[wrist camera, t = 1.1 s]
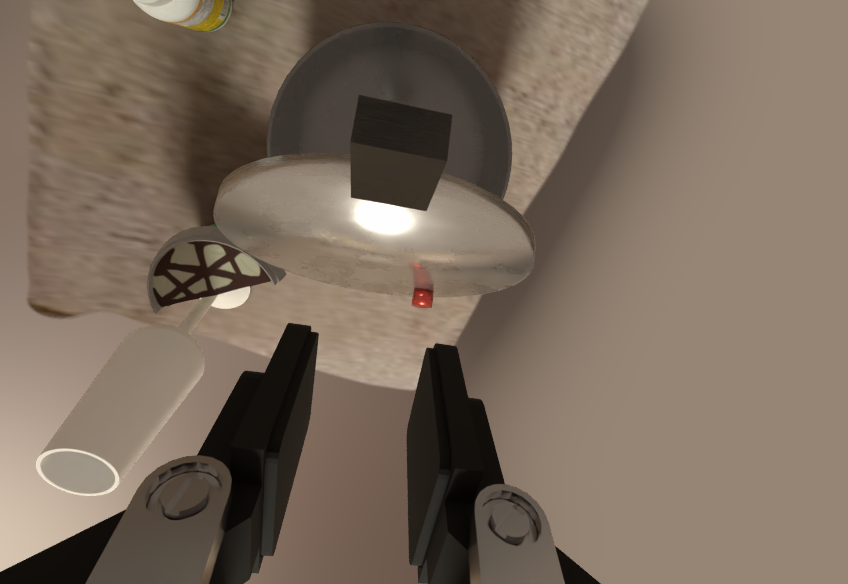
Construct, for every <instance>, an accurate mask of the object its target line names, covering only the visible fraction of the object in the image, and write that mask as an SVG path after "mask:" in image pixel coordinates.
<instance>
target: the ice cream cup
mask: <svg viewBox="0 0 848 584" xmlns="http://www.w3.org/2000/svg"><path fill="white" fill-rule="evenodd" d="M285 275H286V273H285V271H284V270H283V269H281V268H278V267H275V266H273V265H271V264H268V263H266V262H264V261H262V260H260V259H258V258H256V257H254V256H252V255H250V254H248V253H247V252H245V251H244V250H242V249H240V248H239V247H237V246H236V245H235V244H233V243H232V242H231V241H230V240H228V239H227V238H226V237H225V236H224V235H223V234H222V233H221V232H220V230H219V229H218V227H217V226H216V224H215V223H213V224H211V225H210V226H200V227H194V228H190V229H187V230H184V231H182V232H180V233H178V234H176V235H174V236H173V237H172V238H170V239H169V240H168V241H167V242H166V243H165V244H164V245H163V247H162V248H161V249H160V250H159V252H158V253H157V255H156V256H155V258H154V260H153V262H152V264H151V266H150V270H149V274H148V282H147V290H148V297H149V300H150V303H151V306H152V308H153V310H154V312H155V313H157V312H158V311H159V310H160V309H162V308H163V307H164V306H170V305H172V304H175V303H179V302H184V301H188V300H193V299H198V298H204V297H210V296H215V295H219V294H222V293H226V292H229V291H233V290H237V289H241V288H244V287H248V286H253V285H257V284H261V283H265V282H270V281H272V283H273V285H276V283H277V282H280V281H281V280H282V279H283V278H284V277H285Z"/></svg>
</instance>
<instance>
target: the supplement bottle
mask: <svg viewBox="0 0 848 584" xmlns="http://www.w3.org/2000/svg"><path fill="white" fill-rule="evenodd" d="M133 1H134V2H135V3H136V4H137V5H138V6H139V7H140V8H141V9H142V10H143V11H145V12H146V13H147V14H149V15H151V16H152V17H154V18H156V19H159V20H162V21H165V22H169V23H172V24H176V25H179V26H183V27H186V28H190V29H194V30H197V31H201V32H213V31H216V30H218V29H220V28H222V27H223V26H224V25H225V24H226V23H227V21H228V19H229V18H230V15H231V12H232V3H233V2H232V0H133Z"/></svg>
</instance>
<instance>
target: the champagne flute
mask: <svg viewBox="0 0 848 584" xmlns="http://www.w3.org/2000/svg"><path fill="white" fill-rule="evenodd" d="M249 294H250V286H248V287H244V288H241V289H237V290H233V291H229V292H226V293H222V294H219V295H215V296H210V297H204V298H199V299H200V301H199V302H198V303H197V305H196V306H195V307H194V308H193V310H192V311H191V312H190V314H189V315H188V316H187V318H186V319H185V320H184V321H183V323H182V324H181V325H180V327H176V326H172V325H152V326H147V327H143V328H139V329H137V330H135V331H133V332H132V333H130V334H129V335H128V336H126V337H125V338H124V340H123V341H122V343H121V344H120V345H119V347H118V348H117V349H116V351H115V352H114V354H113V355H112V356H111V358H110V359H109V360H108V362H107V363H106V365H105V366H104V367H103V369H102V370H101V371H100V373H99V374H98V376H97V377H96V378H95V380H94V381H93V383H92V384H91V385H90V387H89V388H88V390H87V391H86V392H85V394H84V395H83V396H82V398H81V399H80V401H79V402H78V403H77V405H76V406H75V408H74V409H73V410H72V412H71V413H70V414H69V416H68V417H67V419H66V420H65V421H64V423H63V424H62V425H61V427H60V428H59V430H58V431H57V432H56V434H55V435H54V437H53V438H52V439H51V441H50V442H49V443H48V445H47V446H46V448H45V449H44V451H43V452H42V453H41V455H40V456H39V457H38V459H37V461H36V469H37V471H38V473H39V474H40V476H41V477H42V478H43V479H44V480H45V481H46V482H48V483H49V484H51V485H52V486H54V487H56V488H58V489H60V490H63V491H66V492H68V493H72V494H77V495H83V496H98V495H103V494H106V493H109V492H111V491H113V490H114V489H115V488H116V487H117V486H118V485H119V483H120V482H121V481H122V480H123V478H124V477H125V476H126V474H127V473H128V472H129V470H130V469H131V468H132V466H133V465H134V464H135V462H136V461H137V460H138V459H139V457H140V456H141V455H142V453H143V452H144V451H145V450H146V448H147V447H148V446H149V444H150V443H151V442H152V440H153V439H154V438H155V436H156V435H157V434H158V433H159V431H160V430H161V429H162V427H163V426H164V425H165V424H166V422H167V421H168V420H169V418H170V417H171V416H172V414H173V413H174V412H175V410H176V409H177V408H178V407H179V405H180V404H181V403H182V401H183V400H184V399H185V397H186V396H187V395H188V394H189V392H190V391H191V390H192V388H193V387H194V386H195V384H196V383H197V382H198V381H199V379H200V378H201V376H202V374H203V372H204V368H205V360H204V354H203V350H202V348H201V346H200V344H199V343H198V341H197V340H196V338H195V337H194V336H193V335H191V333H192V331H193V330H194V328H195V327H196V326H197V324H198V323H199V321H200V320H201V319H202V317H203V316H204V315H205V313H206V312H207V310H208V309H209V308H210V306H213V307H216V308H222V309H230V308H235V307H237V306H240V305H241V304H243V303H244V302H245V301H246V300H247V298H248V296H249Z"/></svg>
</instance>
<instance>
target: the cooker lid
mask: <svg viewBox="0 0 848 584" xmlns="http://www.w3.org/2000/svg"><path fill="white" fill-rule="evenodd" d="M451 123H452V115H451V114H446V113H442V112H437V111H432V110H428V109H423V108H418V107H414V106H409V105H404V104H400V103H395V102H390V101H386V100H381V99H376V98H372V97H367V96H362V95H359V97H358V103H357V108H356V113H355V119H354V124H353V130H352V135H351V141H350V154H342V153H300V154H287V155H280V156H275V157H269V158H264V159H260V160H257V161H254V162H251V163H248V164H245V165H243V166H242V167H240V168H238V169H236V170H234V171H232V172H231V173H230V174H229V175H228V176H227V177H226V178H225V179H224V180H223V182H222V184H221V186H220V187H219V191H218V195H217V199H216V202H215V206H214V212H213V217H214V221H215V224H216V226H217V227H218V229H219V230H220V232H221V233H222V234H223V235H224V236H225V237H226V238H227V239H228V240H230V241H231V242H232V243H233V244H235V245H236V246H237V247H239V248H240V249H242V250H244V251H245V252H247V253H248V254H250V255H252V256H254V257H256V258H258V259H260V260H262V261H264V262H266V263H268V264H271V265H273V266H275V267H278V268H281V269H283V270H286V271H288V272H291V273H294V274H297V275H300V276H303V277H307V278H310V279H313V280H317V281H321V282H324V283H328V284H332V285H337V286H341V287H346V288H351V289H356V290H362V291H368V292H374V293H381V294H390V295H399V296H412V297H413V298H412V306H415V307H419V308H432V302H433V297H461V296H472V295H479V294H485V293H490V292H494V291H498V290H502V289H505V288H508V287H510V286H513V285H515V284H517V283H519V282H520V281H522V280H523V279H525V278H526V277H527V276H528V275H529V274H530V272H531V271H532V268H533V265H534V256H535V237H534V233H533V231H532V229H531V226H530V225H529V223H528V222H527V221H526V220H525V218H524V217H523V216H522V215H521V214H520V213H519V212H518V211H517V210H515V209H514V208H513V207H512V206H511V205H509V204H508V203H506V202H505V201H503V200H502V199H500V198H499V197H497V196H496V195H494V194H492V193H490V192H488V191H486V190H484V189H482V188H480V187H478V186H476V185H474V184H472V183H469V182H467V181H464V180H462V179H459V178H457V177H454V176H452V175H449V174H446V173H443V170H444V168H445V165H446V163H447V158H448V149H449V141H450V132H451Z"/></svg>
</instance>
